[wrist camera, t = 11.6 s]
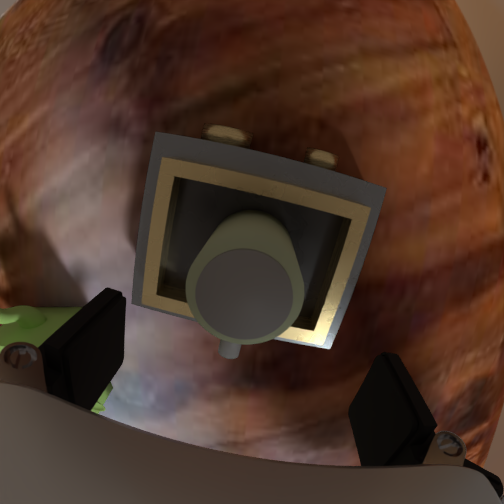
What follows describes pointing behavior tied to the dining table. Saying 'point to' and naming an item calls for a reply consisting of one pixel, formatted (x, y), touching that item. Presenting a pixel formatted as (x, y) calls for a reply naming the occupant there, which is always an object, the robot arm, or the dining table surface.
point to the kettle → (38, 330)
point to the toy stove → (253, 198)
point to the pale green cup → (246, 282)
